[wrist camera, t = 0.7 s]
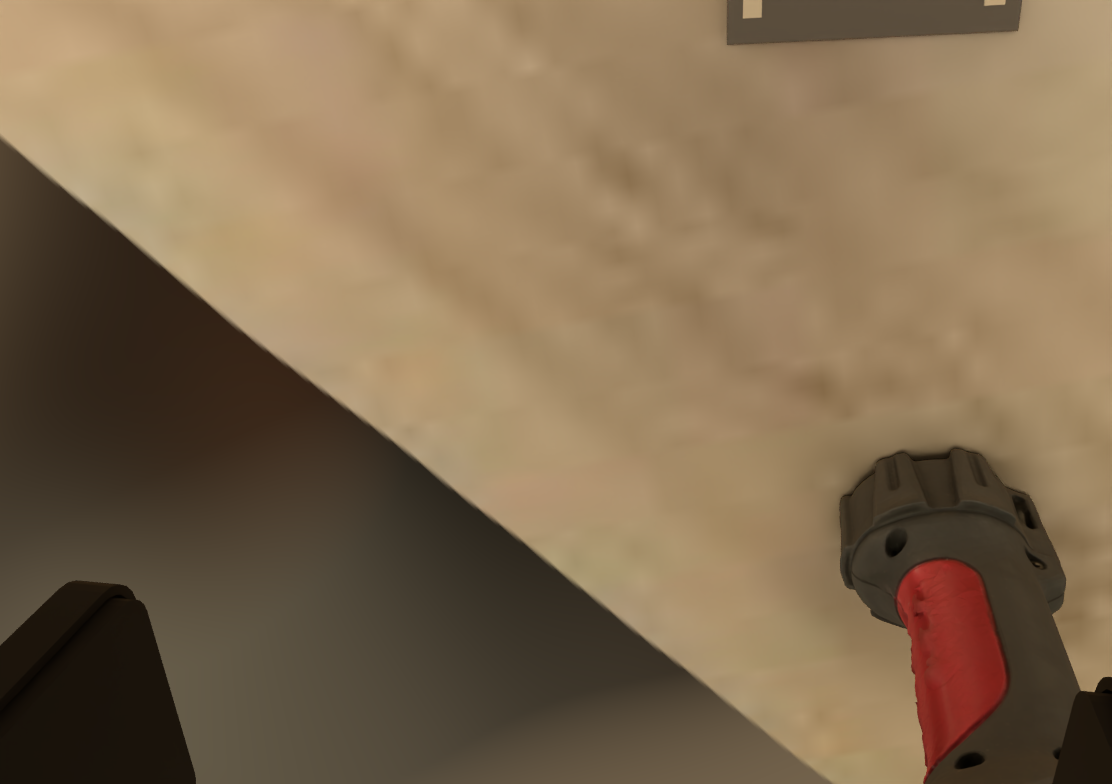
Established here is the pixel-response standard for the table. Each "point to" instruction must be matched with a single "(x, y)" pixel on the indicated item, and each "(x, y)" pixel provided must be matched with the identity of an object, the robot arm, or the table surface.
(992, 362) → the table surface
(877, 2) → the mat
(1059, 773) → the robot arm
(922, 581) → the flashlight
